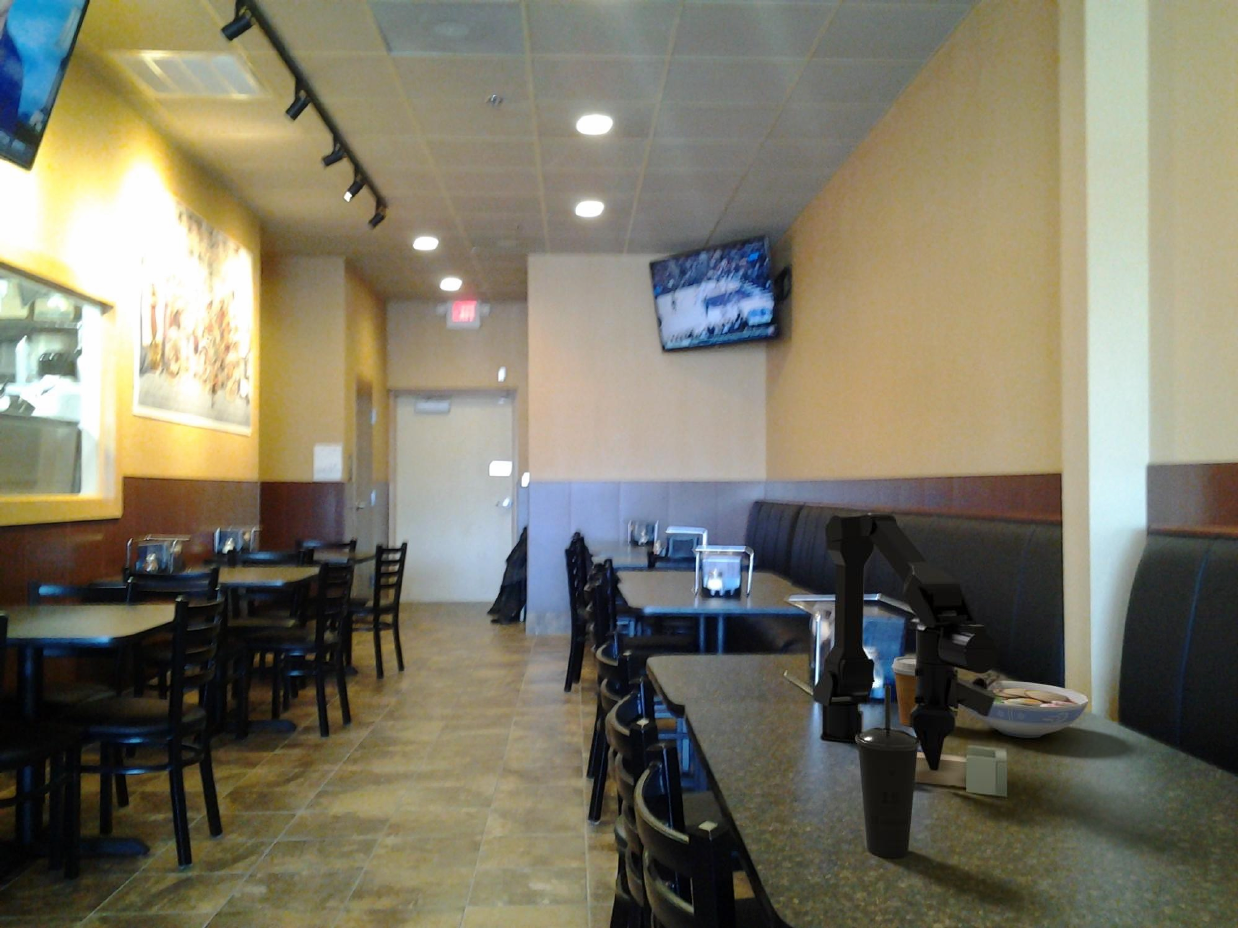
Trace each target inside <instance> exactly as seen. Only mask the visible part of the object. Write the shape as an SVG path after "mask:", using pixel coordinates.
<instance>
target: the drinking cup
mask: <svg viewBox="0 0 1238 928" xmlns="http://www.w3.org/2000/svg"><path fill="white" fill-rule="evenodd" d="M891 688H892V687H891V686H890V685H884V726H878V727H872V728H869V729H866V730H865V731H864V730H863V732H861V733H858V734H857V735H856V737H855V739H856V742H855V743H857V748H858V759H859V760H858V761H859V769H860V780H861V781H860V783H861V784H860V785H861V792H862V805H863V806H862V807H863V816H864V817H863V818H864V828H865V838H866V849H867V851H868V852H869V853H870V854H871V855H874V856H877V857H880V858H886V859H900V858H901V859H902V858H904V857H906V856H908V854H909V848H910V847H909V846H910V835H911V826H912V825H911V824H912V814H913V803H914V793H915V783H916V782H915V772H916V762H917V752H918V749H919V748H921V746H920V740H919V739H918V738H917V737H916V736H914V735H912V734H910V733H908V732H907V731H905V730H902V729H899V728H895V727H891V722H892V721H891V716H892V715H891V709H892V708H891V706H892V705H891V693H892V692H891Z"/></svg>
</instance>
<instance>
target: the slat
mask: <svg viewBox="0 0 1238 928" xmlns="http://www.w3.org/2000/svg"><path fill="white" fill-rule="evenodd" d="M922 782H923V783H924V784H932V785H934V784H935V785H944V786H951V785H956V786H955V787H961V788H962V787H963V788H966V756H963V755H955V754H954V755H953V754H952V755H951V754H942V753H941V758H940V763H939V768H938V770H937V771H934V770H930V768H929V765H928V763H927V760H926V758H925V756H924V753H923V751H922V752H921V751H920V752H918V751H917V762H916V772H915V783H922ZM923 783H922V784H923Z"/></svg>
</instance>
